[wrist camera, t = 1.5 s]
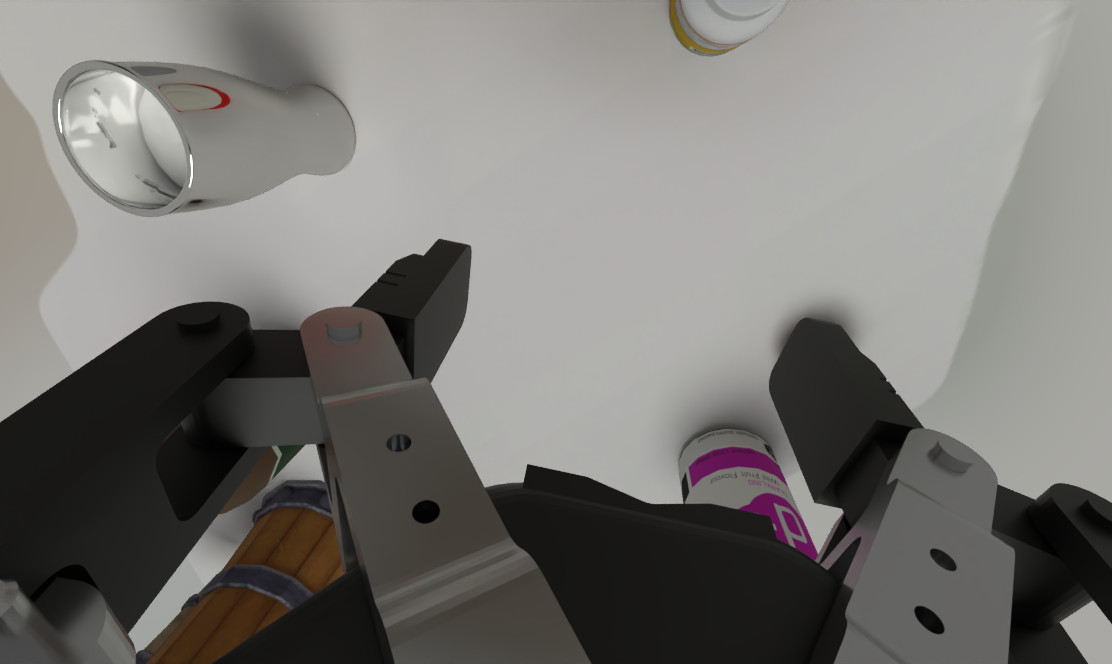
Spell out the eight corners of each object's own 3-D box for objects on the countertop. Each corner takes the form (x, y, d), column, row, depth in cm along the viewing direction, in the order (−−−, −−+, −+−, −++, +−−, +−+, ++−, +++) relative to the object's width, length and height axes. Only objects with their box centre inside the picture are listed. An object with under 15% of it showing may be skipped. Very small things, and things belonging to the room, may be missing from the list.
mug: (276, 589, 59) (122, 801, 41) (203, 502, 54) (-9, 700, 35) (409, 565, 54) (301, 794, 36) (343, 466, 49) (178, 675, 30)
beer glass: (355, 194, 36) (198, 242, 23) (268, 162, 36) (58, 192, 23) (368, 97, 33) (195, 87, 20) (273, 63, 33) (34, 29, 20)
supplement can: (705, 410, 40) (746, 559, 27) (792, 445, 41) (877, 610, 27) (661, 477, 44) (679, 638, 30) (742, 509, 44) (795, 682, 31)
